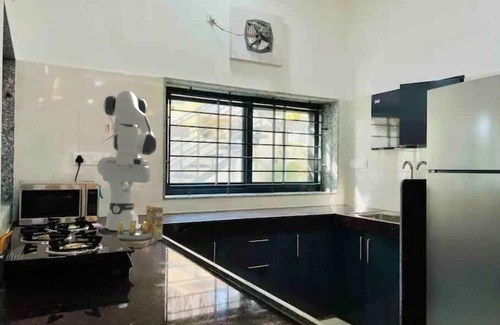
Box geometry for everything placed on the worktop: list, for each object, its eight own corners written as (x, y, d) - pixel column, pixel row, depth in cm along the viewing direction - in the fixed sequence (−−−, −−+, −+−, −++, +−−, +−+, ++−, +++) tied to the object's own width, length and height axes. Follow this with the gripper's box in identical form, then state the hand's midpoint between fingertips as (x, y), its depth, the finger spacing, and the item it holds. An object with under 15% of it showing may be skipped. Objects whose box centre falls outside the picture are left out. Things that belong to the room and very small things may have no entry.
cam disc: (116, 241, 161) (116, 224, 161) (119, 235, 174) (119, 220, 175) (150, 240, 164) (151, 224, 164) (151, 235, 178) (151, 220, 178)
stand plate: (122, 239, 179) (122, 234, 179) (158, 240, 177) (158, 235, 177) (103, 246, 161) (103, 240, 161) (142, 248, 159) (142, 242, 159)
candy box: (162, 239, 181) (163, 206, 181) (154, 240, 178) (155, 207, 178) (153, 237, 187) (154, 205, 187) (145, 237, 184) (146, 205, 185)
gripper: (100, 159, 165) (99, 192, 165) (146, 161, 163) (145, 194, 162) (107, 159, 171) (106, 191, 171) (152, 161, 169) (151, 193, 169)
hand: (126, 192), depth 167 cm, fingers closed
